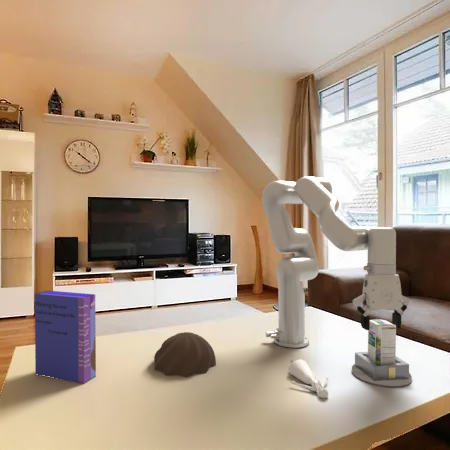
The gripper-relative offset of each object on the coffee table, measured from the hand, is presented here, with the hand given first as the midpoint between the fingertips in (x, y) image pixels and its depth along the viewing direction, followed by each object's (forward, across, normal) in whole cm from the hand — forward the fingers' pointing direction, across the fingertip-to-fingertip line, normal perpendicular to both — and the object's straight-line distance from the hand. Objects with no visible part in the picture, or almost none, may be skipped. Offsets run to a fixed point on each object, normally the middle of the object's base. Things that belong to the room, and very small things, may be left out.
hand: (381, 328), depth 104 cm
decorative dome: (+14, -56, +16) cm, 60 cm away
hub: (+14, 0, 0) cm, 14 cm away
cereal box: (+14, -91, +12) cm, 93 cm away
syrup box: (+13, 0, 0) cm, 13 cm away
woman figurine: (+14, -23, -2) cm, 27 cm away
